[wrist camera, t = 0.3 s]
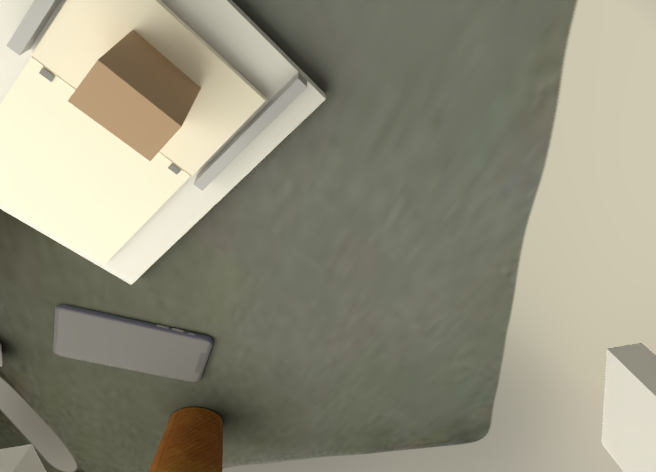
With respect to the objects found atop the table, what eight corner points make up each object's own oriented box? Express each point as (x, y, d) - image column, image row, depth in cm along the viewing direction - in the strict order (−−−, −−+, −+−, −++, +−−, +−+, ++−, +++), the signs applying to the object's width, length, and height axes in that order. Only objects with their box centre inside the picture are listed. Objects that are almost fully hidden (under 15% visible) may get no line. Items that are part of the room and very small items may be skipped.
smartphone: (54, 305, 44) (214, 341, 47) (58, 298, 45) (215, 334, 48) (51, 355, 48) (198, 384, 51) (55, 348, 49) (200, 377, 52)
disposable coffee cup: (244, 439, 59) (232, 546, 50) (170, 446, 60) (144, 554, 50) (226, 394, 54) (209, 506, 44) (144, 402, 54) (109, 515, 44)
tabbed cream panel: (103, -52, 26) (52, -35, 21) (266, 97, 32) (258, 141, 26) (35, 52, 29) (-24, 89, 24) (193, 171, 35) (173, 223, 30)
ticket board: (87, -144, 25) (70, -146, 23) (325, 93, 33) (326, 106, 31) (-83, 148, 34) (-105, 163, 33) (134, 277, 43) (126, 295, 41)
